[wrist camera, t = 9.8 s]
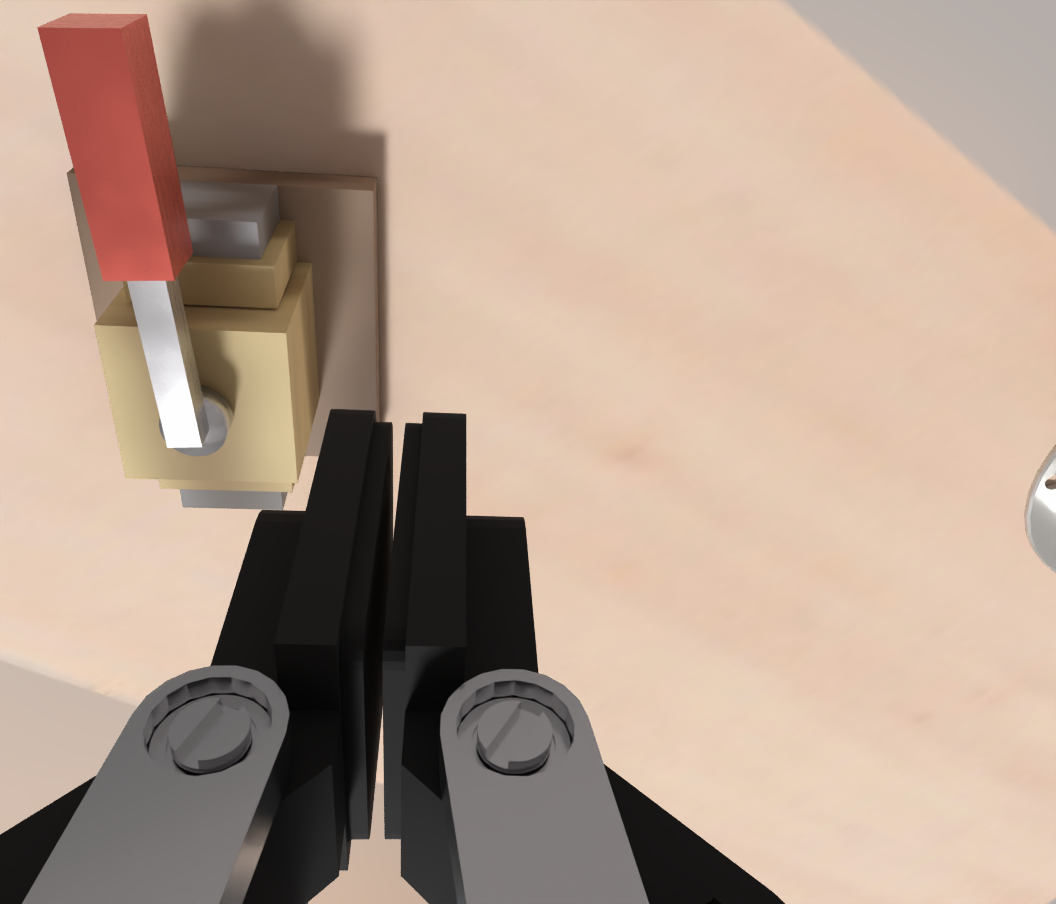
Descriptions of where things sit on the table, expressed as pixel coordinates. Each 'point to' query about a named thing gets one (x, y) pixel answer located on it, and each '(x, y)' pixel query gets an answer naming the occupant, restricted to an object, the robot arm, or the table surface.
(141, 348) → the valve block
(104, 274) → the valve lever
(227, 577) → the table surface
